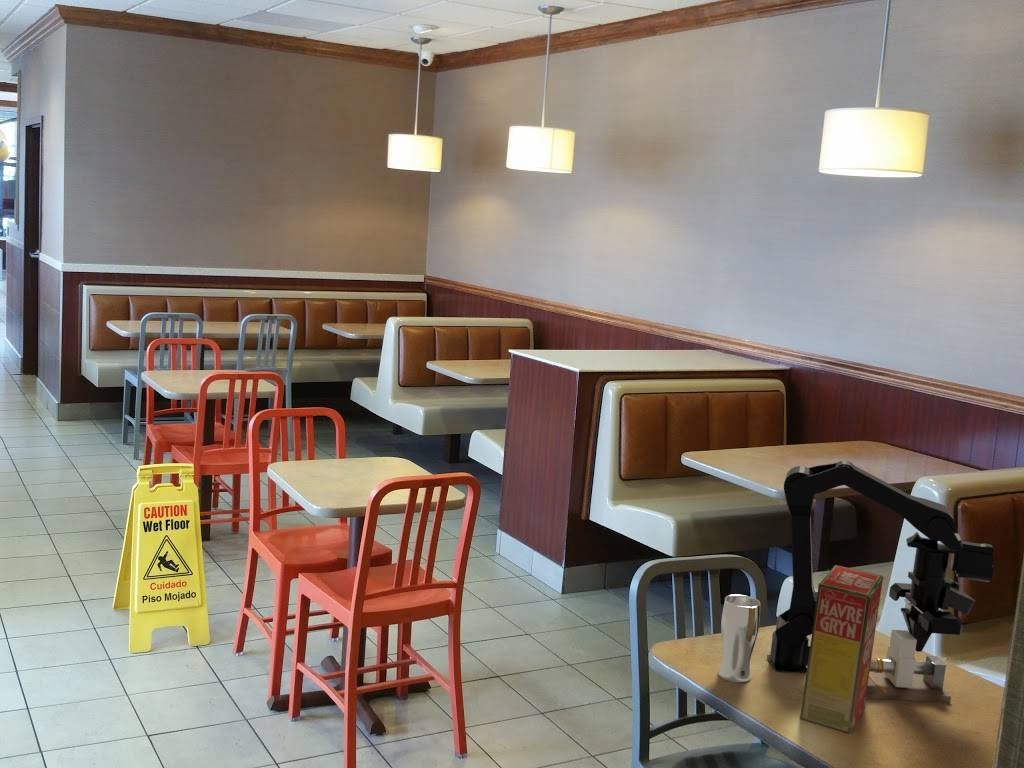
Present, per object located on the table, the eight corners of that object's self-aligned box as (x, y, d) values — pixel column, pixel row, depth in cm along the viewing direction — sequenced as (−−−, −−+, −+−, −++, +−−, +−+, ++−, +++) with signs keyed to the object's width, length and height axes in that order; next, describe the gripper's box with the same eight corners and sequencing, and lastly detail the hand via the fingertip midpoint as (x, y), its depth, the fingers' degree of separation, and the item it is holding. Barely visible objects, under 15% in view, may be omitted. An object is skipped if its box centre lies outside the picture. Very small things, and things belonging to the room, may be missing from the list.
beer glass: (750, 669, 199) (758, 596, 196) (755, 685, 192) (764, 609, 189) (714, 666, 199) (722, 592, 197) (717, 681, 192) (726, 605, 190)
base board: (854, 697, 190) (855, 690, 190) (838, 675, 199) (839, 669, 199) (950, 702, 191) (951, 695, 190) (929, 680, 200) (930, 674, 199)
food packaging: (852, 735, 175) (871, 596, 171) (797, 719, 180) (814, 582, 176) (867, 705, 187) (885, 574, 183) (815, 691, 191) (831, 563, 187)
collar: (895, 686, 192) (902, 640, 190) (884, 673, 197) (890, 628, 196) (911, 687, 192) (918, 641, 190) (899, 674, 197) (905, 629, 196)
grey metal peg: (853, 685, 192) (856, 660, 191) (846, 675, 196) (849, 651, 195) (942, 690, 193) (946, 665, 192) (933, 680, 197) (936, 656, 196)
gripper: (996, 592, 182) (983, 675, 185) (949, 558, 201) (937, 633, 203) (935, 588, 182) (923, 671, 184) (893, 554, 200) (882, 630, 203)
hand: (918, 650), depth 194 cm, fingers closed, pressing on collar
